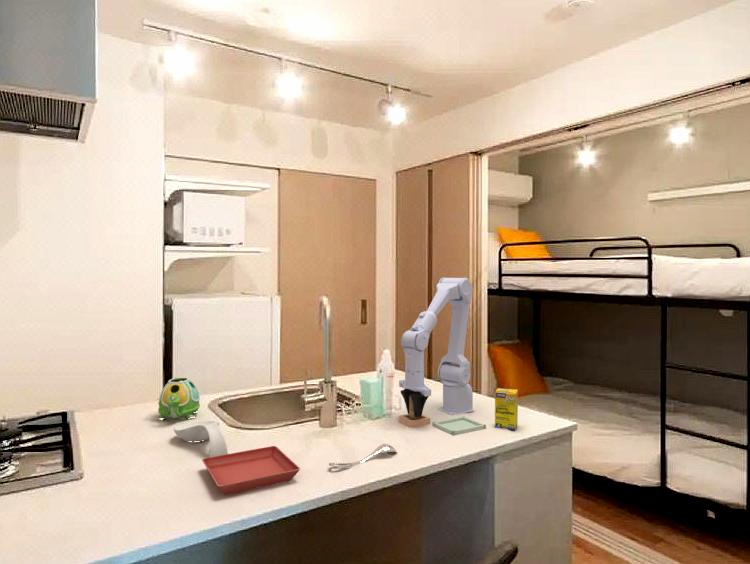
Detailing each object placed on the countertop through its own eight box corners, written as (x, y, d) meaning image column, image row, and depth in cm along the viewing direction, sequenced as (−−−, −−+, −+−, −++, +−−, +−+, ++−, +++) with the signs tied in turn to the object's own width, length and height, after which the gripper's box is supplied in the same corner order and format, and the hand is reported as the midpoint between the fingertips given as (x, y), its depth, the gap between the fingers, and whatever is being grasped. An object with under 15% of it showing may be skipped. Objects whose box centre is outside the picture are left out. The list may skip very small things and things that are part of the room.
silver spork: (335, 458, 116) (324, 452, 120) (334, 474, 116) (323, 467, 120) (401, 445, 129) (389, 440, 132) (400, 459, 129) (389, 454, 132)
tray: (463, 420, 157) (463, 416, 157) (486, 429, 148) (486, 425, 148) (432, 426, 151) (432, 422, 151) (453, 436, 142) (453, 431, 142)
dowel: (415, 420, 156) (415, 394, 156) (421, 423, 153) (421, 397, 153) (407, 422, 154) (407, 396, 154) (413, 425, 152) (413, 398, 151)
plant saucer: (201, 471, 119) (201, 457, 119) (275, 457, 128) (275, 444, 128) (218, 502, 104) (218, 486, 103) (301, 483, 112) (301, 468, 112)
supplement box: (494, 428, 149) (494, 391, 149) (497, 423, 155) (497, 387, 154) (515, 431, 147) (515, 393, 146) (517, 425, 152) (518, 389, 152)
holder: (417, 419, 158) (417, 412, 158) (430, 425, 152) (430, 418, 152) (399, 422, 155) (399, 415, 155) (411, 428, 149) (411, 421, 149)
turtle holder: (149, 428, 150) (148, 388, 150) (164, 411, 168) (164, 375, 168) (192, 426, 152) (192, 387, 152) (203, 409, 170) (202, 374, 170)
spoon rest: (168, 438, 142) (168, 412, 142) (210, 429, 150) (209, 405, 149) (196, 463, 124) (196, 434, 124) (242, 453, 131) (242, 425, 131)
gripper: (390, 367, 158) (390, 410, 158) (417, 376, 145) (417, 423, 145) (409, 365, 161) (409, 407, 162) (437, 373, 149) (437, 419, 149)
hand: (414, 414), depth 154 cm, fingers closed on dowel, 3 cm apart
